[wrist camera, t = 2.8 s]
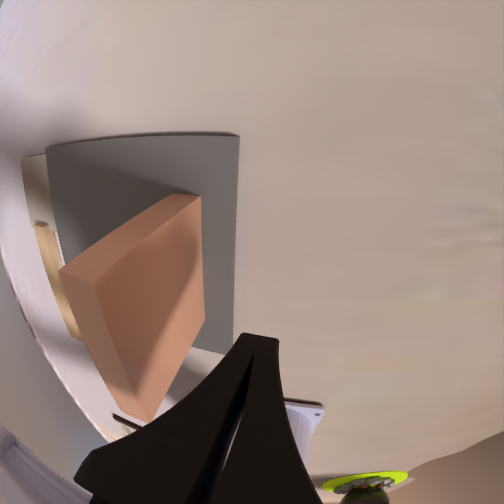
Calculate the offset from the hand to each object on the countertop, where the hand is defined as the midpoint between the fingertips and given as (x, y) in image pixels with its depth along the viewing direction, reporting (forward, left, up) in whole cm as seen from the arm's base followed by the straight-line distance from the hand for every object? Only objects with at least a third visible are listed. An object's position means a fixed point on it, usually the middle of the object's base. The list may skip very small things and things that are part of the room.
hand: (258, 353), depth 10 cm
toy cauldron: (-39, -20, -6) cm, 45 cm away
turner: (-2, +18, -6) cm, 20 cm away
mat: (0, +9, -6) cm, 11 cm away
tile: (0, +5, -5) cm, 7 cm away
